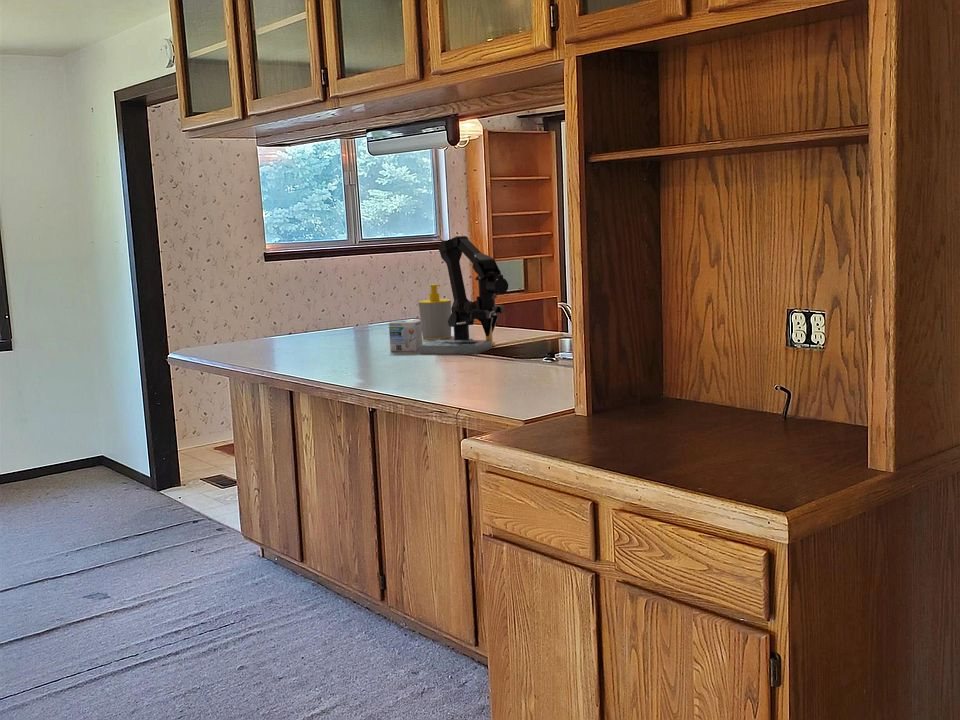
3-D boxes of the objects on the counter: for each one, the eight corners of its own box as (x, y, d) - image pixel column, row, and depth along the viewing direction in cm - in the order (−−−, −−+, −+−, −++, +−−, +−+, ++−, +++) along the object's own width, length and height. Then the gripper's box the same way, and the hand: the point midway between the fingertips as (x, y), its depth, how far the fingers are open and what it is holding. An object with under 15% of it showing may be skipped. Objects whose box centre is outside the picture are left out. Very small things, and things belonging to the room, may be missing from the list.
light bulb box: (389, 351, 349) (387, 322, 347) (396, 348, 355) (394, 320, 353) (417, 351, 345) (415, 321, 344) (423, 348, 352) (421, 319, 350)
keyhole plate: (437, 347, 351) (436, 339, 350) (491, 348, 342) (491, 340, 342) (420, 353, 338) (419, 345, 338) (476, 354, 329) (476, 345, 329)
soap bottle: (459, 335, 383) (456, 283, 380) (438, 339, 373) (435, 286, 370) (435, 334, 392) (432, 282, 388) (414, 338, 382) (410, 285, 378)
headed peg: (486, 345, 350) (485, 320, 349) (496, 345, 349) (495, 320, 347) (482, 347, 347) (480, 321, 345) (492, 347, 345) (491, 321, 344)
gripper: (476, 290, 356) (478, 331, 359) (455, 295, 339) (458, 339, 342) (504, 290, 352) (506, 331, 354) (484, 295, 335) (486, 339, 337)
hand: (488, 335), depth 347 cm, fingers closed on headed peg, 2 cm apart
